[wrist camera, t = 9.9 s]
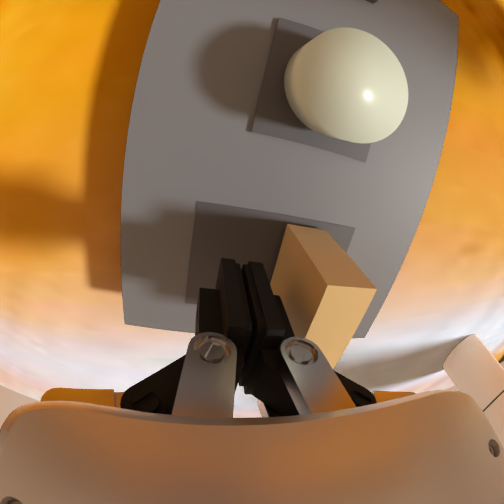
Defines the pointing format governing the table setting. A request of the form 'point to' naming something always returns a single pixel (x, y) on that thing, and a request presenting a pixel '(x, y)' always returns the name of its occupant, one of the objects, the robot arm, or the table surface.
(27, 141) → the table surface
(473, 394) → the cylindrical container
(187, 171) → the control panel
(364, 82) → the push button
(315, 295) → the paddle switch
